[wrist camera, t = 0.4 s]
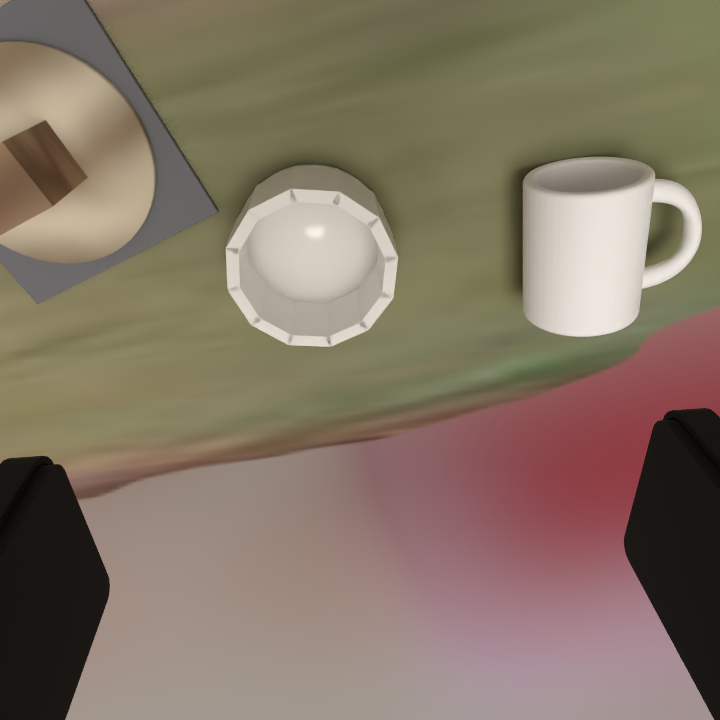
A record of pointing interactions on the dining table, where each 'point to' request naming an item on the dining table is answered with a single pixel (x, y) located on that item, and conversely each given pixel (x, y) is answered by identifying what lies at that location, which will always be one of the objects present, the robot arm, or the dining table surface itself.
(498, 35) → the dining table surface
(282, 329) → the bowl
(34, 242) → the lid
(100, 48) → the mat
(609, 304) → the mug
